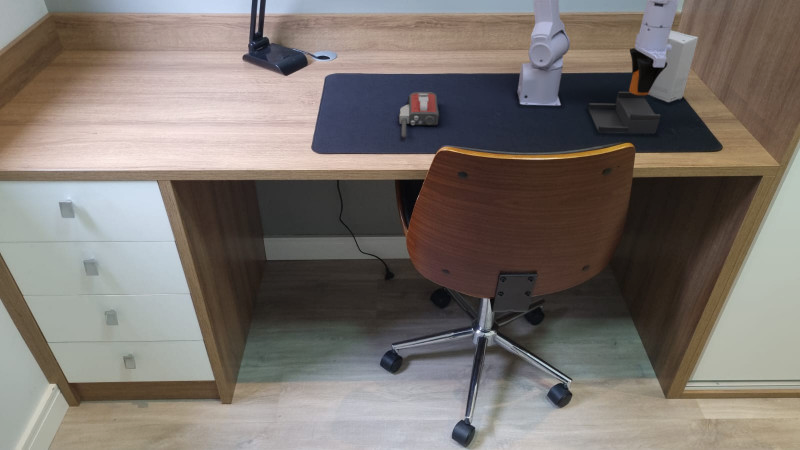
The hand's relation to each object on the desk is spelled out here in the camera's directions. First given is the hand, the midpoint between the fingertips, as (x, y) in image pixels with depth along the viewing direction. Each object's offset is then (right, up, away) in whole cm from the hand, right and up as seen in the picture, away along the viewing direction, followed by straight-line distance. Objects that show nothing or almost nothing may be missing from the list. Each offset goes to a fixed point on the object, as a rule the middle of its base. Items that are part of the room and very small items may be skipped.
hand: (640, 87), depth 121 cm
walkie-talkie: (-47, -6, +7) cm, 48 cm away
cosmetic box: (+12, +2, +16) cm, 20 cm away
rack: (-2, -7, +5) cm, 9 cm away
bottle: (0, -1, +1) cm, 1 cm away
